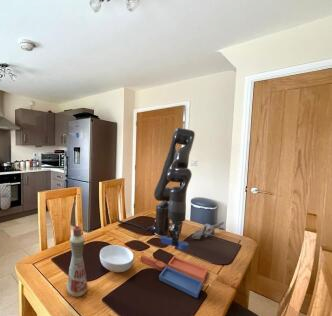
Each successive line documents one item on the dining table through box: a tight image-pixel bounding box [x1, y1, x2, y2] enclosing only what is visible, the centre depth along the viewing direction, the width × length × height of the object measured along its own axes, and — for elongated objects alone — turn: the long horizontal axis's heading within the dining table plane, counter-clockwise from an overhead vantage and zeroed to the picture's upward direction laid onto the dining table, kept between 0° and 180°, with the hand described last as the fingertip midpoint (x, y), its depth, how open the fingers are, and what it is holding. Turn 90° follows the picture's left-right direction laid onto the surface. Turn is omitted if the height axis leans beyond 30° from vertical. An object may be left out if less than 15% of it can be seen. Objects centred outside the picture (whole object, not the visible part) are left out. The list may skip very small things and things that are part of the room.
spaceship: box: [191, 221, 225, 240], centre depth 136 cm, size 8×35×8 cm
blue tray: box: [158, 266, 203, 299], centre depth 89 cm, size 16×9×2 cm, turn 50°
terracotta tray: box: [167, 255, 209, 283], centre depth 98 cm, size 16×9×2 cm, turn 50°
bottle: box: [66, 225, 88, 298], centre depth 82 cm, size 9×9×28 cm
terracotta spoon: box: [140, 254, 166, 272], centre depth 101 cm, size 12×5×3 cm, turn 50°
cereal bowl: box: [99, 244, 135, 273], centre depth 99 cm, size 17×17×7 cm
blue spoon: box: [160, 236, 190, 252], centre depth 94 cm, size 12×5×3 cm, turn 50°
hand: (175, 244), depth 94 cm, fingers closed on blue spoon
